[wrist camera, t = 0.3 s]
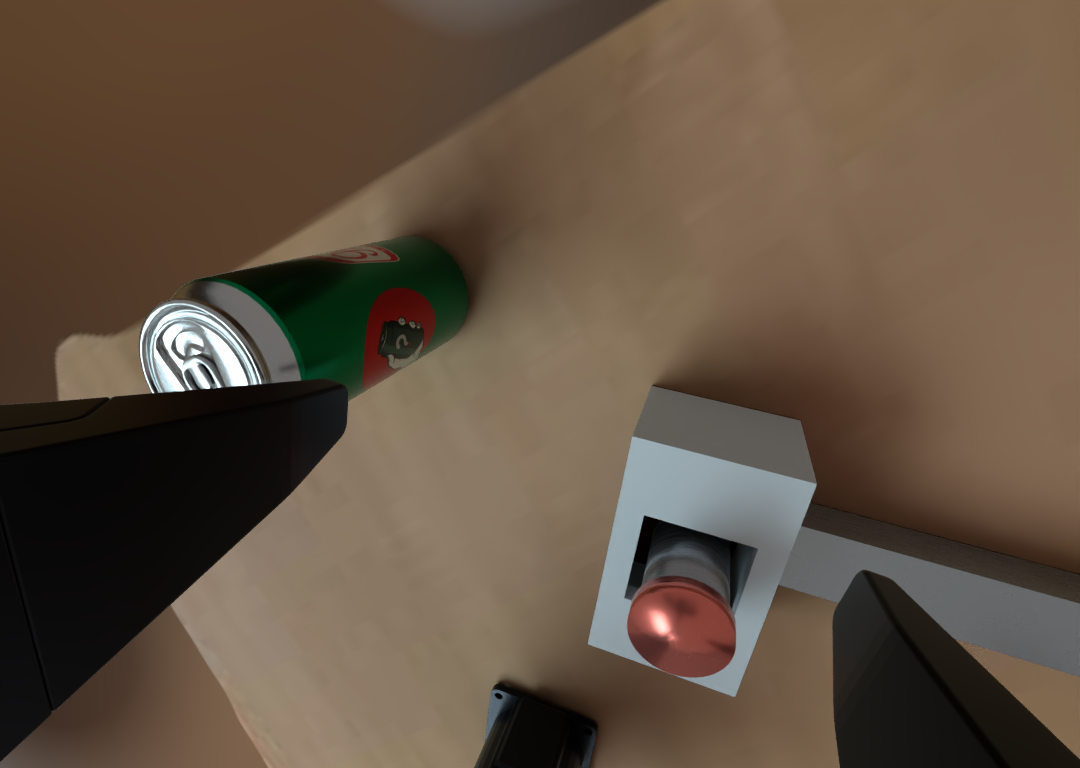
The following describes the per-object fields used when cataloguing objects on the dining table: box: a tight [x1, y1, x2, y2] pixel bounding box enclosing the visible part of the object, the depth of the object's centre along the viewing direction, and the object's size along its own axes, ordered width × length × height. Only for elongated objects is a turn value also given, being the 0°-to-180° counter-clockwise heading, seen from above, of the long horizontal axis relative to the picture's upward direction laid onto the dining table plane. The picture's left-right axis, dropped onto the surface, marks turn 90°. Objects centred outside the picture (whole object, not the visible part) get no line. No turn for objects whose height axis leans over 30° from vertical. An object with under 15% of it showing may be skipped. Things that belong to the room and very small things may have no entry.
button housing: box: [588, 386, 817, 697], centre depth 22 cm, size 10×6×5 cm, turn 173°
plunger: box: [627, 520, 736, 678], centre depth 20 cm, size 3×3×5 cm
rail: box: [778, 503, 1080, 677], centre depth 20 cm, size 3×22×2 cm, turn 83°
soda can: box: [139, 236, 468, 401], centre depth 20 cm, size 5×5×12 cm
